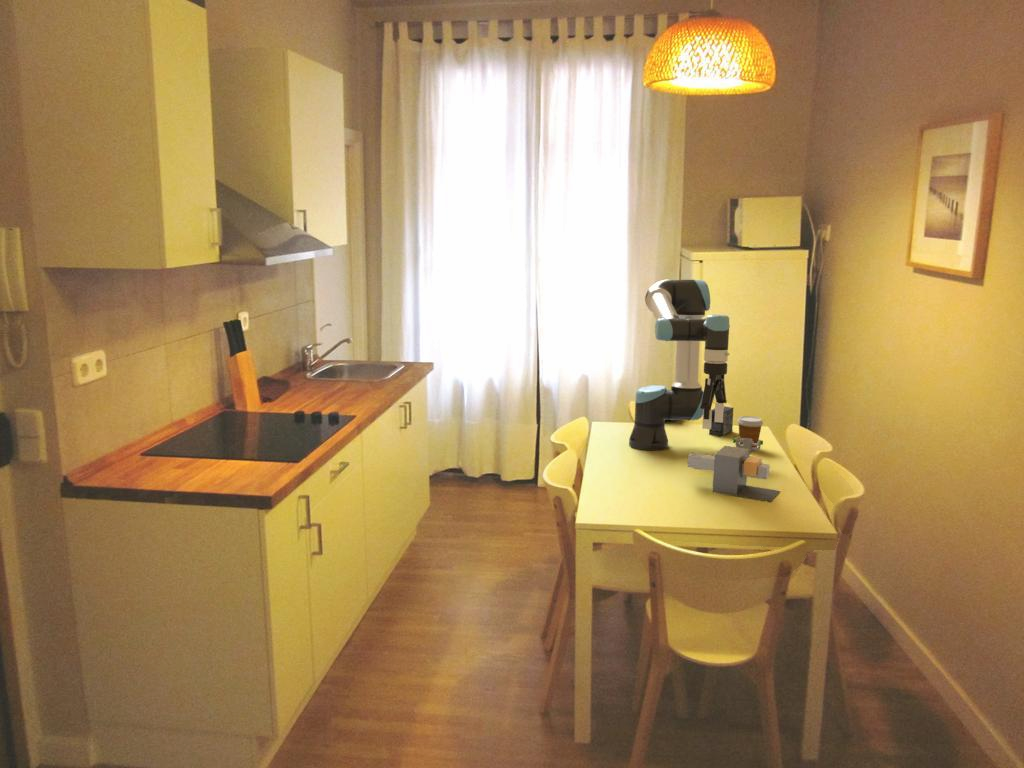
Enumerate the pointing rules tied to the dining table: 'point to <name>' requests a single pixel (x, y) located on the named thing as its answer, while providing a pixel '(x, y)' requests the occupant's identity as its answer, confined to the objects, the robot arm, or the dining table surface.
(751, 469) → the block
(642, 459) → the dining table surface
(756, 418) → the disposable coffee cup
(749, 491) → the mat
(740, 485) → the block
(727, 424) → the small box
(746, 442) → the mechanical component
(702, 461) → the shaft
